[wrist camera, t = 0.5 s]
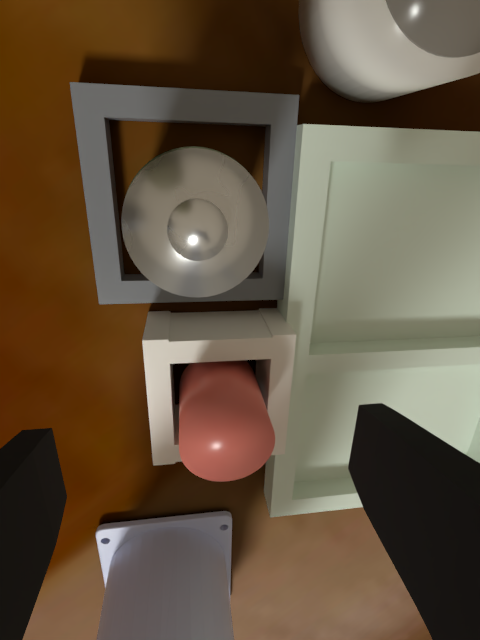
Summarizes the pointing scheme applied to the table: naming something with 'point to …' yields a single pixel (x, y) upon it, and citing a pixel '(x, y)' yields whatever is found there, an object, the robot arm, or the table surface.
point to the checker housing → (212, 346)
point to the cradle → (181, 107)
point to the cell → (195, 222)
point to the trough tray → (377, 299)
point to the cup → (390, 44)
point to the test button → (223, 421)
